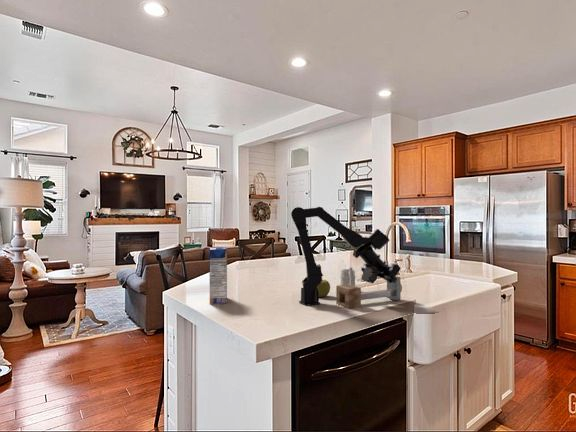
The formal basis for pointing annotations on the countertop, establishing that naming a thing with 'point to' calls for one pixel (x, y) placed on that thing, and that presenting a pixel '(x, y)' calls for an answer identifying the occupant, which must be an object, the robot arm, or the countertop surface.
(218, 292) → the beverage box
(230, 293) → the countertop surface
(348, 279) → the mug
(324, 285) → the apple
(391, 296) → the hook rod
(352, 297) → the block
